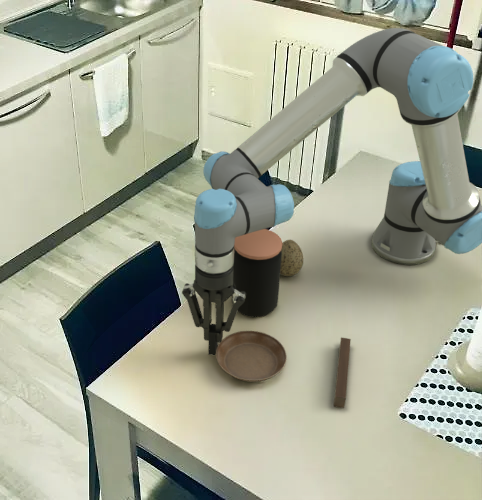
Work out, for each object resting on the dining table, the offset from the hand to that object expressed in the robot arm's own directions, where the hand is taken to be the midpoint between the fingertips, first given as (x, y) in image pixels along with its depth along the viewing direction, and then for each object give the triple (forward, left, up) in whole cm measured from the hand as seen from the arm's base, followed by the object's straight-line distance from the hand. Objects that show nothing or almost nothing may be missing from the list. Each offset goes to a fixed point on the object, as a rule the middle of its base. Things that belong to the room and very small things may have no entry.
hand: (213, 350), depth 154 cm
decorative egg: (-12, -32, -2) cm, 34 cm away
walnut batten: (-27, 0, -2) cm, 27 cm away
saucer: (-8, 0, -2) cm, 8 cm away
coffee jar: (-6, -19, -2) cm, 20 cm away
